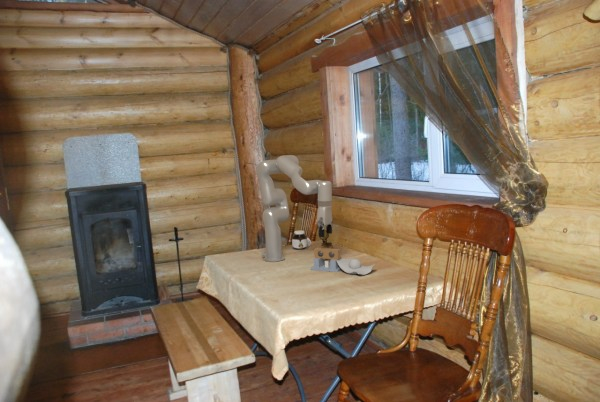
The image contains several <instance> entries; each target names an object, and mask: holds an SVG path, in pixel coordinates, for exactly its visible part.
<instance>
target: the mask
mask: <svg viewBox="0 0 600 402" xmlns="http://www.w3.org/2000/svg"><path fill="white" fill-rule="evenodd" d="M337 263H338V265H339V266H340V268H341V269H342V270H341V271H344V272H345V273H346V274H349V275H357V274H358V275H361V276H364V275H367V274H369V273H371V272H372V270H373V267H374V266H375V265H376V263H374V264H372V265H362V262H361V261H360V259H358V258H341V259H339V260H337Z"/></svg>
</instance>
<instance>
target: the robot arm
mask: <svg viewBox="0 0 600 402" xmlns="http://www.w3.org/2000/svg"><path fill="white" fill-rule="evenodd" d="M299 164H300V159H299V158H298V157H297V156H296V155H293V154H287V155H286V154H284V155H280V156H278V157H277V158H276V159H267V160H262V161H260V162H259V163H258V164H257V167H256V171H255V173H256V177H257V179H258V180H257V181H258V184H259V190H260V195H261V201H262V203H263V205H265V206H272V207H268V208H266V209H264V211H263V212H262V221H263V226H264V237H265V238H264V239H265V251H262V252H261V256H262V257H263V256H264V257H263V261H265V262H269V263H274V262H275V263H277V262H282V261H285V259H286V257H285V256H284V255H283V248H282V230H281V227H280V225H279V223H283V222H285V221H287V220H289V218H290V208H289V202H288V197H287V194H286V192H285V190H284V189H282V188H280V187H279V188H276V187H275V184H274V183H275V182H274V180H273V179H272V177H271V175H277V174H285V175H286V176H287V177H288V178H290V179H291V184H292V185H293V187H294V189H296V190H297V191H298V192H300V194H303V195H305V196H307V195H316V194H317V207H318V208H317V214H316V215H317V216H316V217H317V219H316V224H317V228H318V237H319V238H320V237H325V234H324V230H326V233H328V234H329V235H330V234H333V219H334V218H333V211H332V207H333V193H332V192H333V190H332V189H333V186H332V182H331V181H330V180H321V179H313V180H312V179H310V180H305V179H304V178H303V177H302V175H303V168H302V167H301V166H300V165H299ZM325 227H326V229H325Z"/></svg>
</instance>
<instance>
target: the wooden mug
mask: <svg viewBox="0 0 600 402" xmlns="http://www.w3.org/2000/svg"><path fill="white" fill-rule="evenodd" d="M324 234H325V237H319V239H320V240H322V242H321V245H320V248H331V249H334V246H333V243H332V242H330V241H329V242H328V238H329V237H330V234H328V233H326V229H324ZM326 260H331V259H325V261H326Z"/></svg>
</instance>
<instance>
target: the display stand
mask: <svg viewBox="0 0 600 402" xmlns="http://www.w3.org/2000/svg"><path fill="white" fill-rule="evenodd" d="M340 259H342V257H341V258H340ZM338 260H339V259H338ZM310 271H320V272H329V271H330V272H331V273H339V272H340V271H343V270H342V269H341V268H340V266H339V265H338V263H337V260H336V259H331V260H326V261H325V259H323V258H315V257H314V258H313V266H311V267H310Z"/></svg>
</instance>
